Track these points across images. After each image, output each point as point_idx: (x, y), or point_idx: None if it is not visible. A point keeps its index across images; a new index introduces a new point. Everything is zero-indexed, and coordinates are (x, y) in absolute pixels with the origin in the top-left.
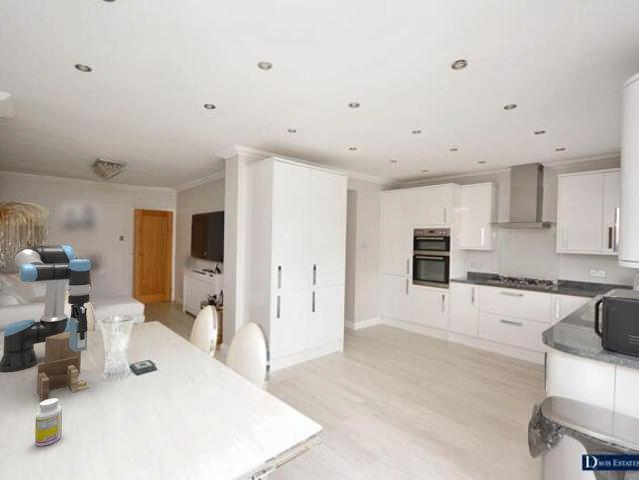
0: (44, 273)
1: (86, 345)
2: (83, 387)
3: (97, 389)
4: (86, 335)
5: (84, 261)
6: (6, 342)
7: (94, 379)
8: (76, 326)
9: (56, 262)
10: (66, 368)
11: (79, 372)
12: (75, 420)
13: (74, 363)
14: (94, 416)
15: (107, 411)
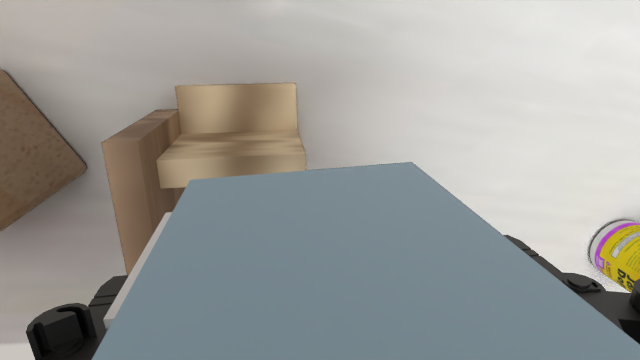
0: None
1: (429, 177)
2: (289, 105)
3: (341, 53)
4: (482, 224)
5: None
6: None
7: (180, 30)
8: None
9: None
10: (164, 188)
11: (6, 74)
12: (562, 175)
13: (153, 154)
14: (590, 123)
15: (594, 78)
